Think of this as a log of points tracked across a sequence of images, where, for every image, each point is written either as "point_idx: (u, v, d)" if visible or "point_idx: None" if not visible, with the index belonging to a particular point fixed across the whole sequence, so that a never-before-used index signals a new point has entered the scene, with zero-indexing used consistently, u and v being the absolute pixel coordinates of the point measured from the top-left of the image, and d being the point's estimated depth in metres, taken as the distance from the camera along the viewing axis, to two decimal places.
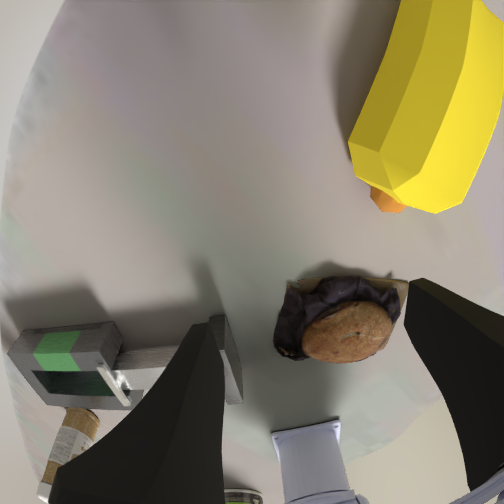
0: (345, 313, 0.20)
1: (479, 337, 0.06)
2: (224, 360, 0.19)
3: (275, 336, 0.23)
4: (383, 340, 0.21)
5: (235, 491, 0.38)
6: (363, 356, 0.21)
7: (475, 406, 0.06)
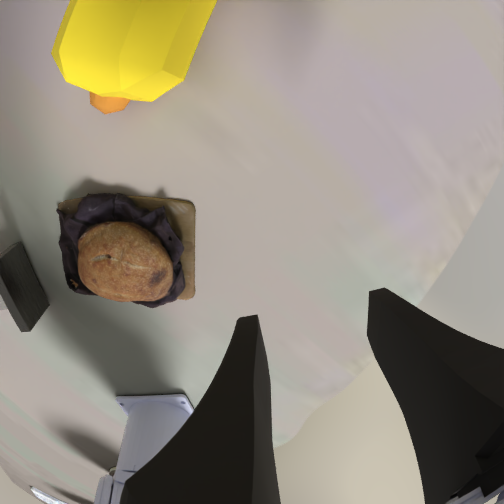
0: (95, 231, 0.17)
1: (432, 357, 0.06)
2: None
3: (64, 266, 0.20)
4: (154, 274, 0.18)
5: None
6: (129, 291, 0.18)
7: (429, 428, 0.06)
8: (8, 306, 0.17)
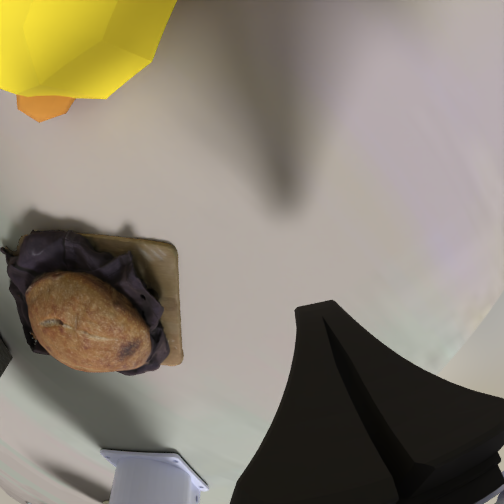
0: (42, 286, 0.11)
1: (359, 380, 0.06)
2: None
3: (20, 316, 0.14)
4: (123, 346, 0.12)
5: None
6: (93, 366, 0.12)
7: None
8: None
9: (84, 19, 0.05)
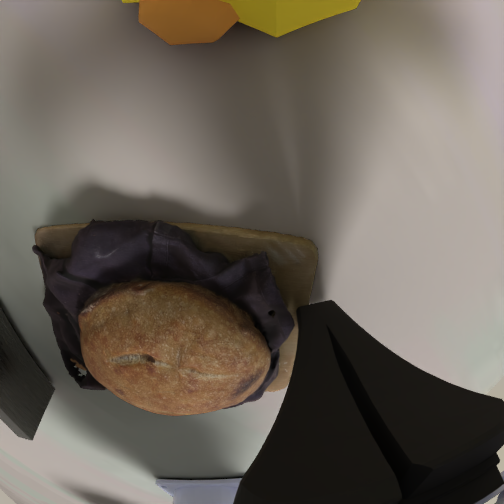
0: (114, 305, 0.08)
1: (357, 381, 0.06)
2: None
3: (57, 339, 0.11)
4: (242, 382, 0.09)
5: None
6: (192, 410, 0.09)
7: None
8: None
9: None
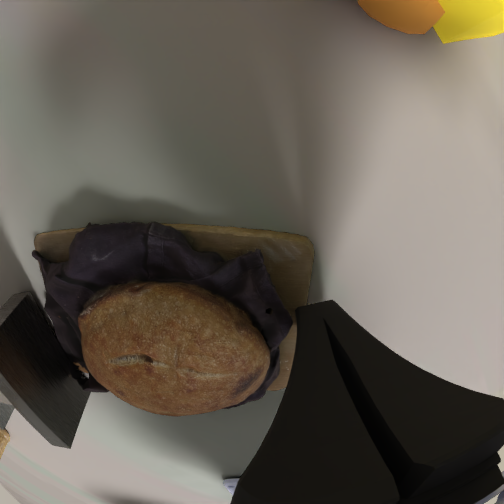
0: (112, 307, 0.08)
1: (359, 380, 0.06)
2: None
3: (60, 343, 0.11)
4: (241, 381, 0.09)
5: None
6: (192, 410, 0.09)
7: None
8: (24, 414, 0.08)
9: None
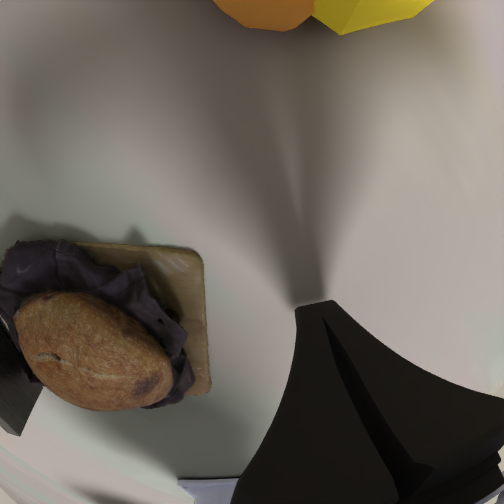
0: (31, 311, 0.08)
1: (359, 380, 0.06)
2: None
3: (14, 342, 0.11)
4: (138, 383, 0.09)
5: None
6: (102, 406, 0.09)
7: None
8: None
9: None
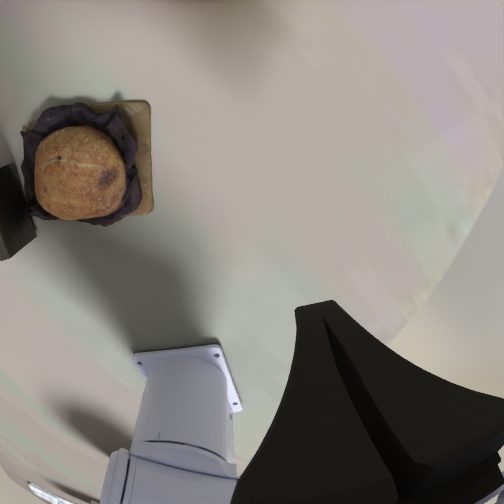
0: (50, 138, 0.14)
1: (359, 380, 0.06)
2: None
3: (25, 193, 0.17)
4: (103, 173, 0.15)
5: None
6: (77, 195, 0.15)
7: None
8: None
9: None
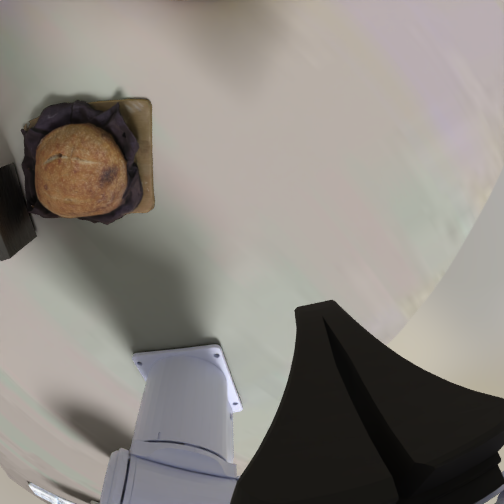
0: (51, 135, 0.14)
1: (359, 380, 0.06)
2: None
3: (26, 191, 0.17)
4: (104, 170, 0.15)
5: None
6: (78, 193, 0.15)
7: None
8: None
9: None
